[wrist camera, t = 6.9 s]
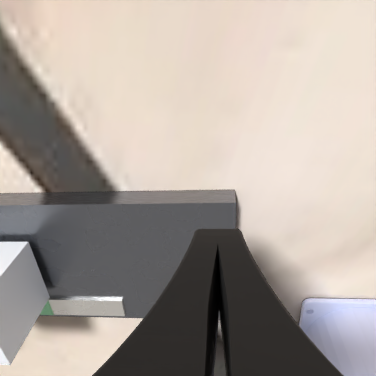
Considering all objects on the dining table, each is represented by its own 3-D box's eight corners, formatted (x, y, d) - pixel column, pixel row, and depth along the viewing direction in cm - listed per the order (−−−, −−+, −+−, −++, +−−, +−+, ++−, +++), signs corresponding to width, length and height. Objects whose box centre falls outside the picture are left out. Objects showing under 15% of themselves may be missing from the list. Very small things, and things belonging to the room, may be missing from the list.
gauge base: (234, 189, 19) (244, 280, 13) (233, 303, 24) (239, 411, 18) (-118, 195, 22) (-262, 274, 15) (-56, 298, 27) (-144, 391, 20)
